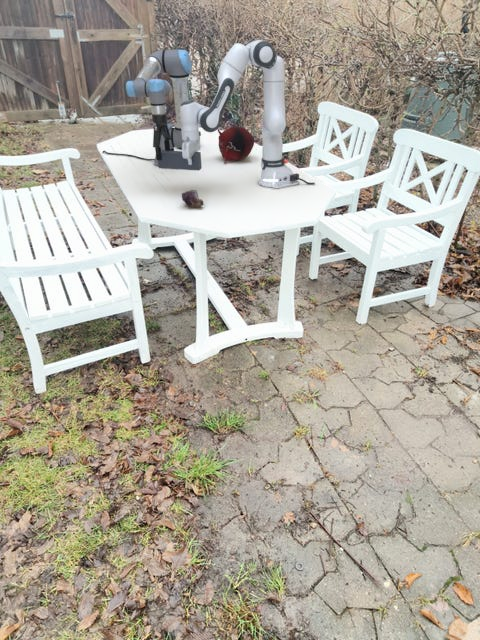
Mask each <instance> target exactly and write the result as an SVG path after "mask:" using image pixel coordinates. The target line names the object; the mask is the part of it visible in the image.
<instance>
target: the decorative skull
mask: <svg viewBox="0 0 480 640" xmlns="http://www.w3.org/2000/svg"><path fill="white" fill-rule="evenodd" d="M217 133H218V150H219V152H220V154H221V156H222V159H223V160H224V162H223V163H224V165H225V164H226V163H227V161H232V162H238V161H242V160H244V159H246V158H248V157H249V155H251V152H252V151H253V148H254V146H255V138H254V136H253V135H252V133H251V132H249V130H247V129H246V128H245V127H243V126H238V125H237V126H236V125H235V126H231V127H229V128H226V129H225V130H223V131H221V130H220V129H219V128H218V129H217Z"/></svg>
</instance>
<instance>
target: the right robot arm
mask: <svg viewBox="0 0 480 640" xmlns="http://www.w3.org/2000/svg"><path fill="white" fill-rule="evenodd" d="M249 65H252V66H255V67H261V69H262V72H263V78H262V79H263V80H262V81H263V83H262V85H263V86H262V88H263V91H262V93H263V94H262V95H263V96H262V99H263V109H264V111H263V112H262V114H261V140H262V152H261V154H262V155H261V156H262V157H261V160H260V161H261V162H260V167H261V172H260V178H259V182H258V184H259V185H260V186H262V187H266V188H273V189H280V188H287V187H291V186H292V187H293V186H297V185H299V181H302V182H303V183H305V184H307V185H316V183H315V182H310V181H306V180H305V179H303V178H300V173H298V172H297V173H294V171H293V170H292V169H291V168H290V167H288V166H287V165H286V164H288V163H289V160H288V159H286V158H283V145H284V143H283V133H284V132H285V130H286V127H287V119H286V117H287V114H286V100H285V99H286V98H285V96H286V95H285V94H286V93H285V90H286V69H285V61H284V58H283V57H281V56H280V55H277V53H276V51H275V48H274V46H273V45H272V44H271V43H270V42H269V41H266V40H263V39H254V40H251V41H249V42H248V43H246V44H243V43H239V42H237V43H234V44H233V45H232V46H231V47H230V49H229V50H228V51H227V53H226V54H225V56H224V58H223V60H222V61H221V63H220V66H219V68H218V71H217V74H216V77H217V82H218V90H217V93H216V94H215V96H214V98H213V101H212V102H211V105H210V107H209V106H206V105H203V104H200V103H199V102H197V101H195V100H193V99H190V100H189V101H185V102H183V103H182V104H181V106H180V121H181V124H182V127H181V133H182V140H184V142H183V144H182V149H181V151H182V156H183V158H184V159H187V160H188V164H189V165H192V159H191V158H192V156H193V154H194V153H195V152H199V151H200V149H201V136H202V132H201V131H200V130H199V128H202V130H203V131H204V132H206V133H215V132H217V131H218V129H219V128H220V126H221V124H222V123H221V122H222V117H223V113H224V111H225V109H226V107H227V104H228V102H229V100H230V98H231V96H232V94H233V91H234V90H235V88H236V86H237V84H238V82H239V80H240V79H241V78H242V75H243V73H244V72H245V70H246V68H247V66H249Z"/></svg>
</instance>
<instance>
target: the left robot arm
mask: <svg viewBox="0 0 480 640" xmlns="http://www.w3.org/2000/svg"><path fill="white" fill-rule="evenodd" d="M191 60H192V59H191V56H190V53H189V51H188V50H186V49H159V50H156V51H154V52H152V53H150V55H148V56H147V57H146V58H145V60H144V62H143V66H142V68H141V69H140V71H139V73H138V74H137V76H136V77H135V78H134V80H127V82H126V83H125V91H126V95H127V96H128V97H129V98H149V102H150V111H151V120H152V123H153V124H155V126H153V137H152V138H153V139H152V148H154V150H155V155H154V158H145V157H140V156H138V155H133V154H128V153H116V152H107V151H106V150H103V151H102V153H105V154H107V155H114V156H125V157H127V156H128V157H133V158H137V159H140V160H144V161H154V165H155V166H157V167H159V166H158V160H162V156H161V150H167V151H175V148H178V147H182V144H183V142H184V140H182V133H181V127H182V124H181V121H180V106H181V104H182V103H183V102H185V101H189V88H188V79H189V77H190V75H191V73H192V70H193V68H192V67H193V66H192V61H191ZM159 74H168V76H169V78H170V79H171V81H172V86H171V84H170V82H168V81H167V80H165V79H161V78H155V77H156V76H158V75H159ZM171 91H173V101H174V110H175V119H176V123H175V124H174V127H173V125H172V124H168V114H167V109H168V107H167V105H166V97H168V96H169V95H170V93H171Z"/></svg>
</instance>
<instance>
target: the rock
mask: <svg viewBox="0 0 480 640" xmlns="http://www.w3.org/2000/svg"><path fill="white" fill-rule="evenodd" d="M181 200H182V201H183V202H184V203H185V205H186V206H187V207H188V208H194V207H199V208H200V207H202V206H204V205H205V204H204V200H203V199H202V198H200V197H199V192H198V190H197V189H190V190H187V191H185V192H182V193H181Z"/></svg>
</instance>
